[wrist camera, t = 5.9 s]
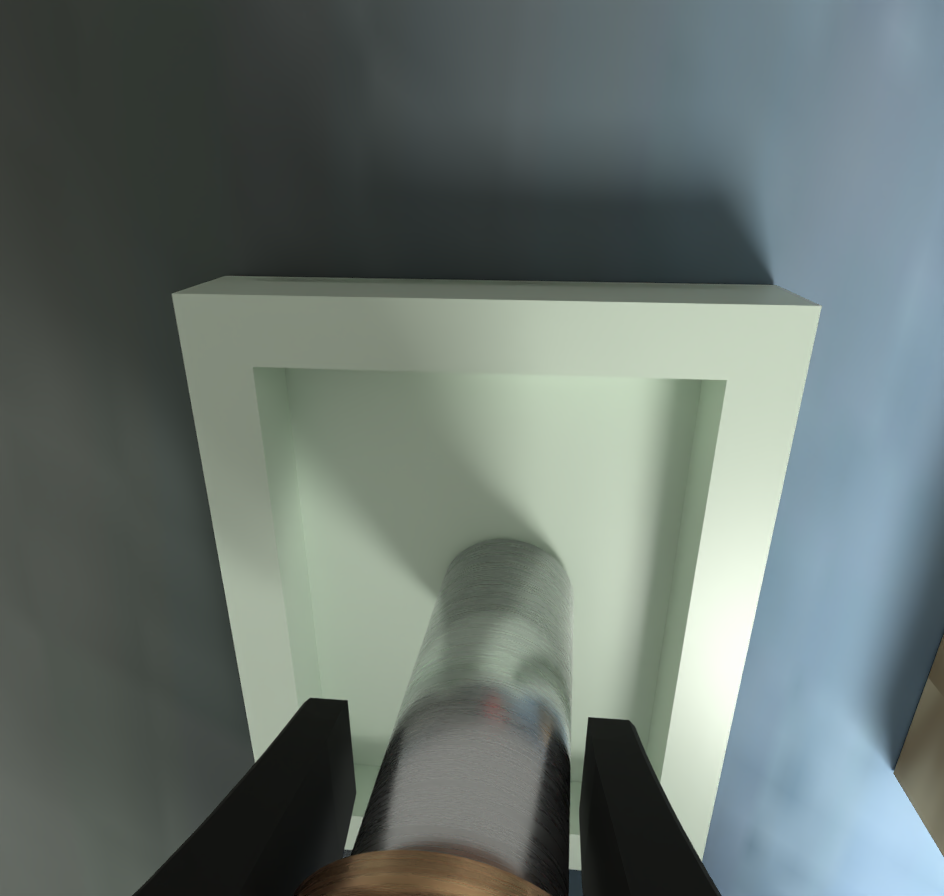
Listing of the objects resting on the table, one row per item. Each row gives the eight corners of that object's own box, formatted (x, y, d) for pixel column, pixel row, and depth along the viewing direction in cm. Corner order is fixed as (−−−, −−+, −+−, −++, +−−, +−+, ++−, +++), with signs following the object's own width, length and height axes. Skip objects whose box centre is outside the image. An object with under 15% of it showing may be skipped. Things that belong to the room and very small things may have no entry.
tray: (679, 802, 17) (697, 881, 15) (296, 772, 17) (269, 842, 16) (775, 284, 11) (821, 305, 10) (225, 275, 12) (171, 293, 10)
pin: (591, 674, 14) (601, 1202, 7) (423, 656, 15) (268, 1129, 7) (605, 525, 13) (638, 1001, 5) (417, 510, 13) (217, 925, 6)
